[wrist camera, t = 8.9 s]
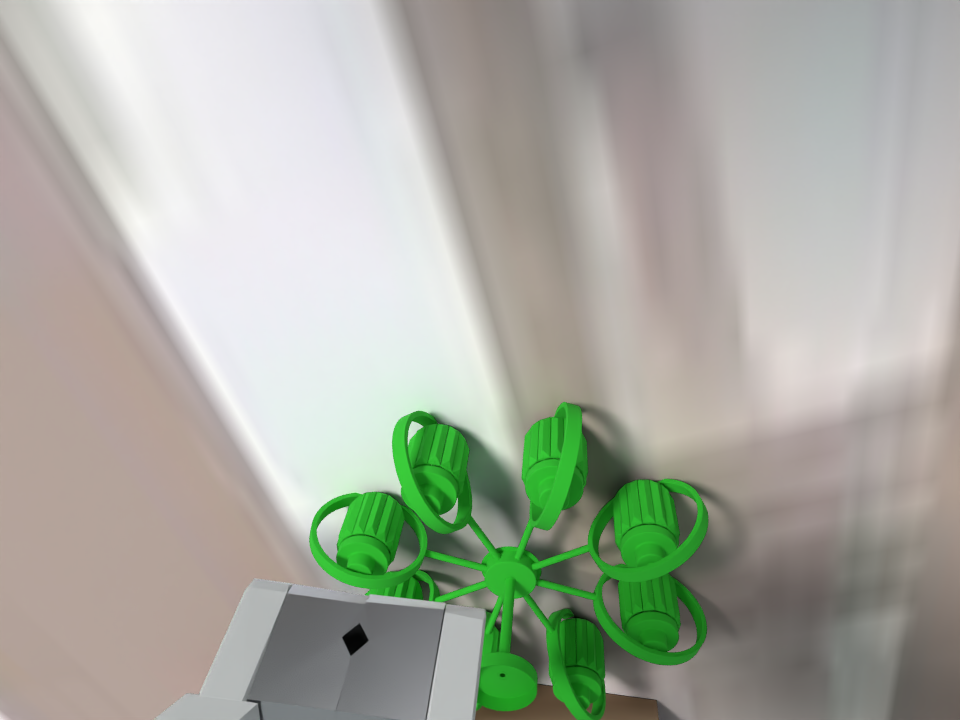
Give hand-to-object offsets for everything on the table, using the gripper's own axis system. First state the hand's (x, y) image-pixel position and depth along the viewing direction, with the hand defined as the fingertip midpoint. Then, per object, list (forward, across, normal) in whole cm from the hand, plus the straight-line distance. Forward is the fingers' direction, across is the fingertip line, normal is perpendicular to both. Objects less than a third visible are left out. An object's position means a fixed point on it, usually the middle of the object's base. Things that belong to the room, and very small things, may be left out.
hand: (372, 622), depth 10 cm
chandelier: (+15, -2, +14) cm, 21 cm away
